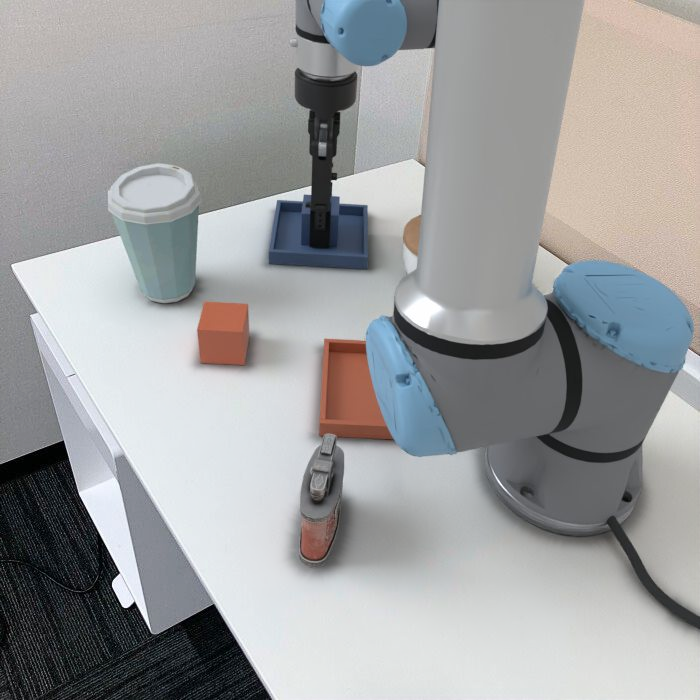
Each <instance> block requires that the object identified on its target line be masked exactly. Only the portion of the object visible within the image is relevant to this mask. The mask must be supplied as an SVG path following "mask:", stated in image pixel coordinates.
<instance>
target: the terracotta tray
mask: <svg viewBox="0 0 700 700" xmlns="http://www.w3.org/2000/svg"><path fill="white" fill-rule="evenodd" d="M321 375H322V376H321V390H320V404H319V405H320V406H319V407H320V408H319V425H318V437H324V435H325V434H333V435H335V436H336V437H337V438H353V439H354V438H357V439H375V440H376V439H378V440H394V439H393V437H392V435H391V433H390V431H389V429H388V427H387V425H386V423H385V420H384V418H383V415H382V413H381V410H380V407H379V404H378V401H377V398H376V395H375V391H374V387H373V383H372V379H371V375H370V370H369V365H368V359H367V351H366V340H363V339H345V338H344V339H340V338H323V354H322V371H321Z"/></svg>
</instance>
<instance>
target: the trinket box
mask: <svg viewBox="0 0 700 700" xmlns="http://www.w3.org/2000/svg"><path fill="white" fill-rule="evenodd" d="M420 221H421V214H419V215H416V216H415V217H412V218H411V219H410V220H409V221H408V222H407V223H406V224H405V226H404V228H403V237H402V239H403V243H402V262H403V266H404V270H405V272H406V275H408V274H409V273H411V272H412V271H414V270H415V269H417V257H418V245H419V233H420Z"/></svg>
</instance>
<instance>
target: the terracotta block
mask: <svg viewBox="0 0 700 700" xmlns="http://www.w3.org/2000/svg"><path fill="white" fill-rule="evenodd" d="M249 315H250V314H249V303H241V302H240V303H239V302H224V301H223V302H221V301H203V306H202V309H201V313H200V316H199V321H198V323H197V328H196V332H197V333H196V334H197V343H198V344H197V345H198V351H199V352H198V353H199V359H200V360H199V363H200V364H216V365H217V364H218V365H235V366H245V365H246V359H247V353H248V347H249V341H250V317H249Z"/></svg>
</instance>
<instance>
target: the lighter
mask: <svg viewBox="0 0 700 700" xmlns="http://www.w3.org/2000/svg"><path fill="white" fill-rule="evenodd" d="M337 438H338V437H336V436H335V435H333V434H325V435H324V436H322V440H321V443H320V445H318V446H317V447H316V448H315V450H314V452H313V454H312V455H311V456H310V459H309V461H308V463H307V465H306V468H305V470H304V473H303V477H302V483H301V487H300V498H299V499H300V500H299V501H300V502H299V513H300V516H301V526H300V532H299V540H298V542H299V543H298V559H299V560H300V562H301V563H302V564H303V565H304V566H306V567H309V568H320V567H322V566H324V565H326V563H327V562H328V560H329V558H330V556H331V553H332V551H333V550H334V547H335V544H336V540H337V537H338V535H339V530H340V529H339V528H340V522H341V505H342V504H341V502H342V496H343V486H344V482H343V481H344V476H345V452H344V449H342V448H341V447H340V446H338V445H337V440H338V439H337Z"/></svg>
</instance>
